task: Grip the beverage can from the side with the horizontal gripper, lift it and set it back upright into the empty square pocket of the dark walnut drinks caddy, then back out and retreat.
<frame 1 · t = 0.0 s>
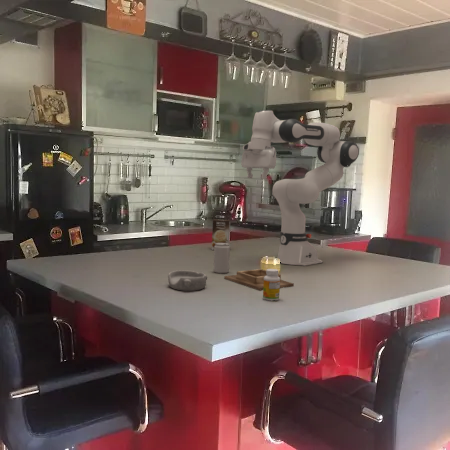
hand: (256, 178, 223), 39 cm above the counter, tool pointing down, fingers open, 8 cm apart
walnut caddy: (258, 282, 193), on the counter
coffee box: (220, 250, 271), on the counter
dish: (187, 287, 182), on the counter
supplement bottle: (270, 299, 169), on the counter
beverage can: (221, 272, 210), on the counter
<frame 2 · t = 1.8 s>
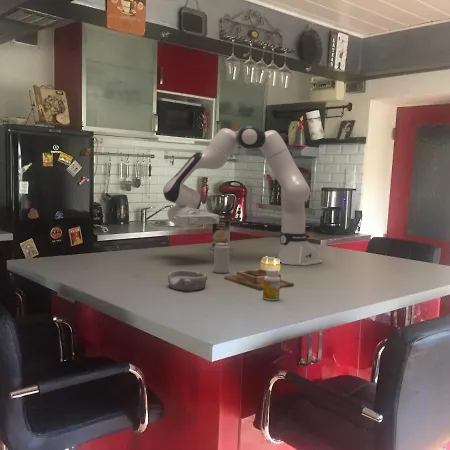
hand: (206, 220, 218), 20 cm above the counter, tool horizontal, fingers open, 8 cm apart
nothing on the counter moved.
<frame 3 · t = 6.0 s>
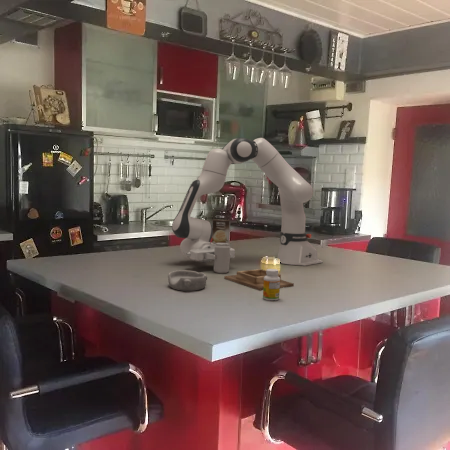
hand: (222, 256, 209), 7 cm above the counter, tool horizontal, fingers closed on beverage can, 6 cm apart
beverage can: (221, 272, 210), on the counter, touching gripper
everything else where it was.
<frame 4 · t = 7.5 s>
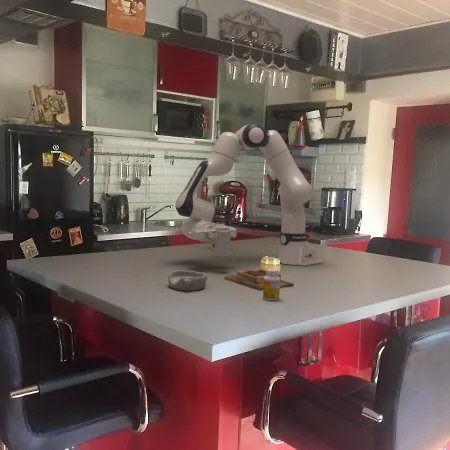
hand: (224, 235, 208), 15 cm above the counter, tool horizontal, fingers closed on beverage can, 5 cm apart
beverage can: (222, 256, 209), point 6 cm above the counter, touching gripper
everything else where it was.
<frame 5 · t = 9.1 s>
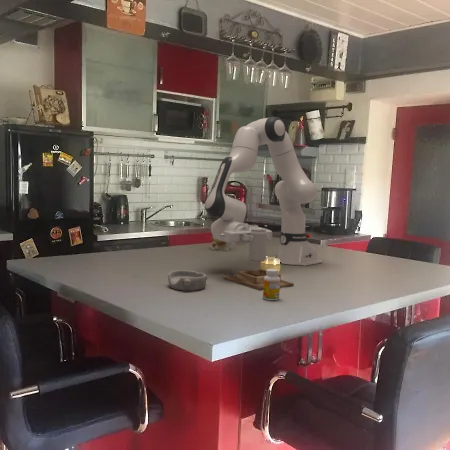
hand: (260, 238, 191), 17 cm above the counter, tool horizontal, fingers closed on beverage can, 5 cm apart
beverage can: (257, 261, 193), point 8 cm above the counter, touching gripper
everything else where it was.
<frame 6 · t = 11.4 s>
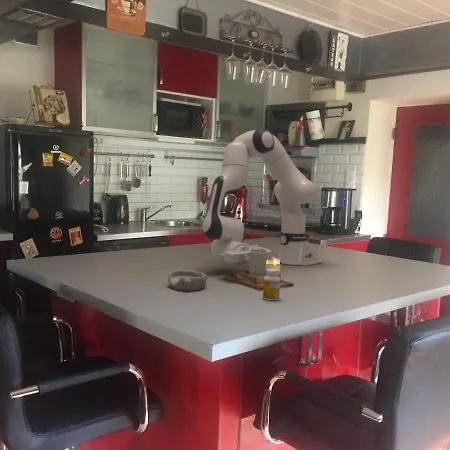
hand: (260, 258, 192), 9 cm above the counter, tool horizontal, fingers closed on beverage can, 4 cm apart
beverage can: (257, 280, 193), point 1 cm above the counter, touching gripper, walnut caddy
everything else where it was.
when the fingers open (9 cm above the counter, at t = 11.4 s): beverage can stays where it is, resting on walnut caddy.
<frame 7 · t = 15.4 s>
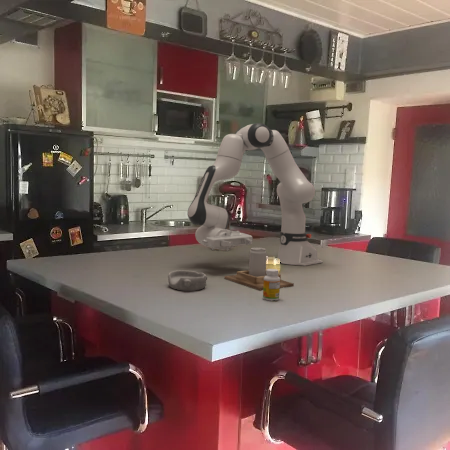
hand: (240, 243, 203), 13 cm above the counter, tool horizontal, fingers open, 8 cm apart
beverage can: (256, 280, 193), point 1 cm above the counter, touching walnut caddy
everything else where it was.
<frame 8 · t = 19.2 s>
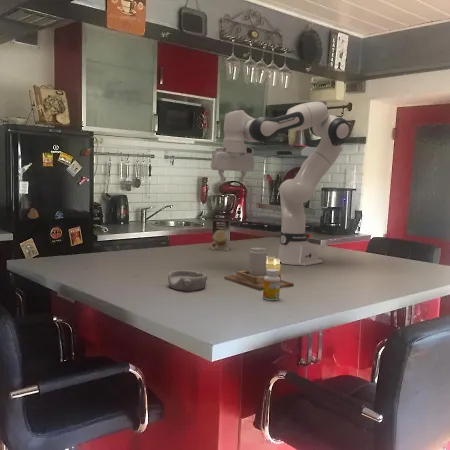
hand: (232, 181, 216), 37 cm above the counter, tool pointing down, fingers open, 8 cm apart
nothing on the counter moved.
at the end: beverage can 0.7 cm off-centre on the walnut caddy, point 0.8 cm above the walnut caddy's base; beverage can tilted 0°; the gripper is holding nothing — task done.
